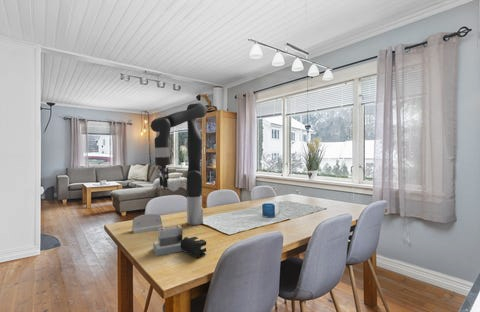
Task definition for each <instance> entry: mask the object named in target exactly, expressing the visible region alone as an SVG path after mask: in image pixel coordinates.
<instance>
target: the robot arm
mask: <svg viewBox="0 0 480 312" xmlns="http://www.w3.org/2000/svg"><path fill="white" fill-rule="evenodd" d="M206 115H207V107H206V105H205V104H204V103H202V102H201V103H200V102H196V103H190V104H188V105H187V107H186V110H180V111H176V112H174V113H171V114H168V115H165V116H162V117H161V116H160V117H157V118H154V119H152V121H151V122H150V129H151V130H152V131H153V132H155V133H158V136H156V137H154V165H155V166H157V177H158V180H159V186H160V187H163V188H164V189H166V188H168V187H169V184H168V181H169V179H170V178H169V177H170V175H169V167H167V166H169V165H170V164H171V160H170V159H171V158H170V156H171V155H170V148H169V138H170V133H171V128H174V127H177V126H179V125H181V124H184V123H186V122H187V124H186V125H187V145H186V146H187V147H186V148H187V149H186V150H187V159H188V160H187V161H188V162H187V163H188V166H187V174H186V225H190V226H198V225H201V224H203V223H204V208H203V206H202V205H203V196H202V195H203V194H202V193H203V177H202V173H201V160H202V159H201V158H202V153H203V138H202V135H201V133H200V131H199V129H198V126H197V119H202V118H204V117H205V116H206Z"/></svg>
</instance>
